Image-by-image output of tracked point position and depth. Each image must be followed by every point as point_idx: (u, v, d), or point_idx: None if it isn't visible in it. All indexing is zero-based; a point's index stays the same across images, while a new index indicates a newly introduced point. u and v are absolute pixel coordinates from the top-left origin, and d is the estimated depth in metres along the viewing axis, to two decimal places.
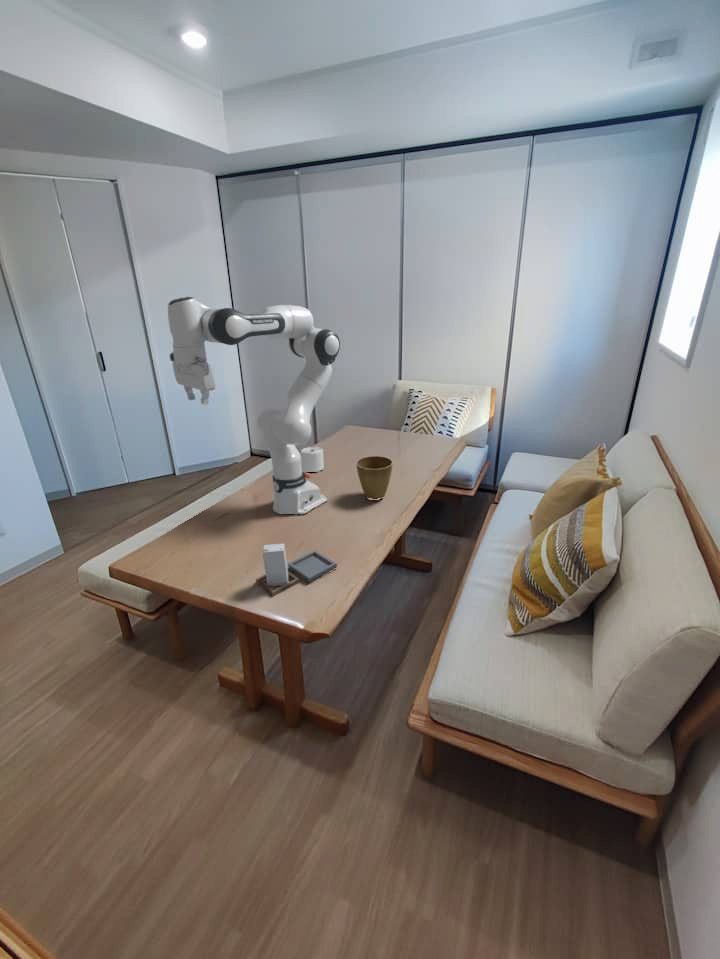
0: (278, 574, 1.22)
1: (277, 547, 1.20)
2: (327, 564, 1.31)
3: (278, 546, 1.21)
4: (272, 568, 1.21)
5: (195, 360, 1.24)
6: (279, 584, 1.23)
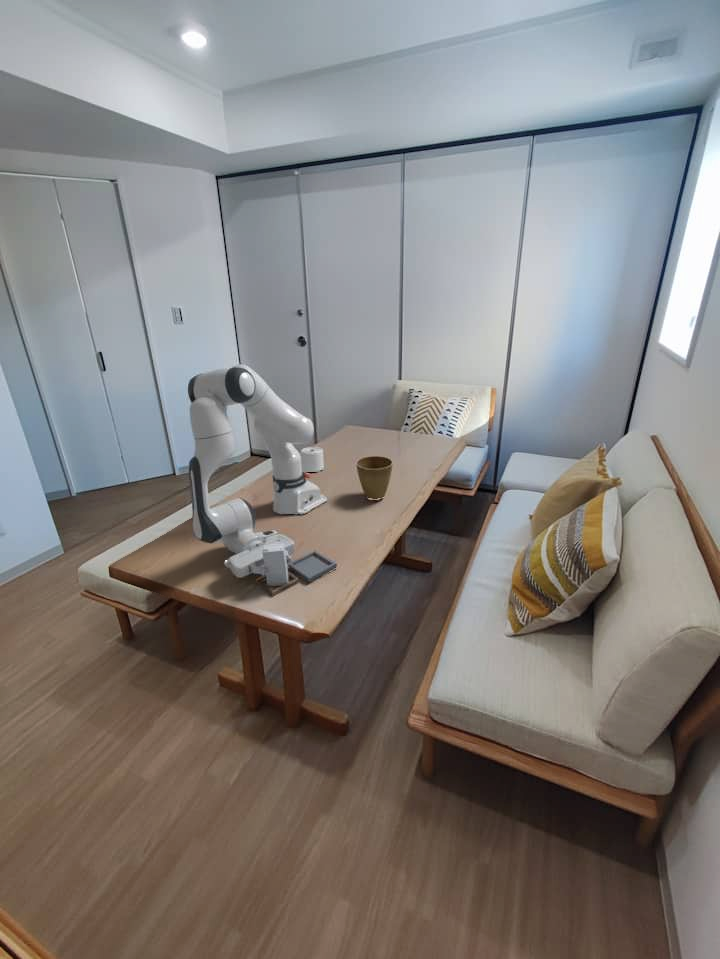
0: (278, 574, 1.22)
1: (277, 547, 1.20)
2: (327, 564, 1.31)
3: (278, 546, 1.21)
4: (272, 568, 1.21)
5: None
6: (279, 584, 1.23)
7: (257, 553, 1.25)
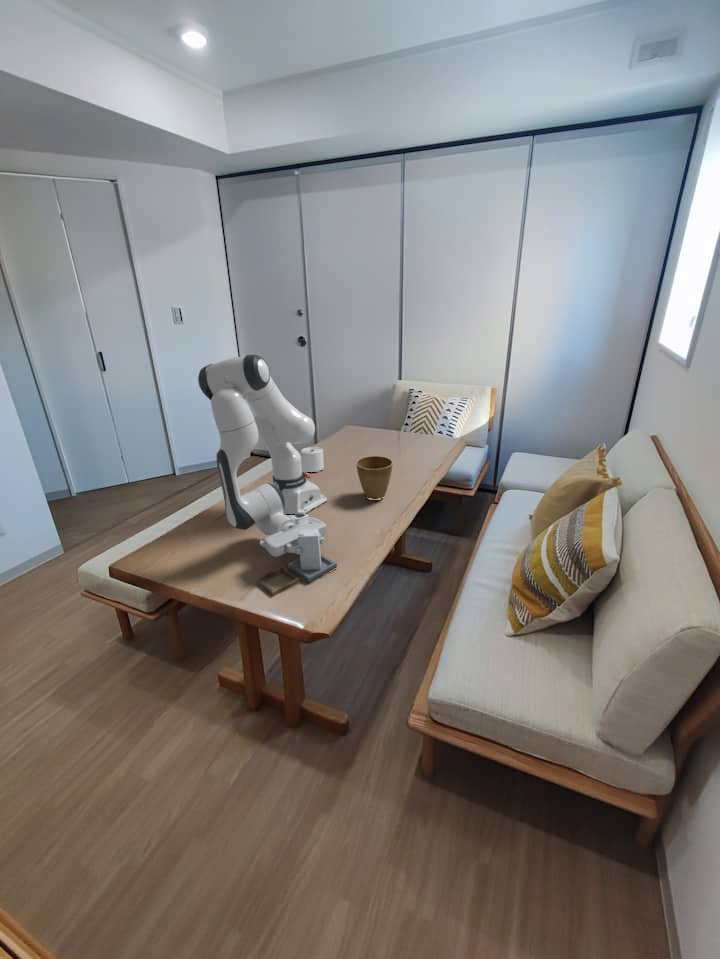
0: (311, 559, 1.27)
1: (312, 532, 1.25)
2: (327, 564, 1.31)
3: (313, 531, 1.26)
4: (307, 553, 1.26)
5: None
6: (312, 569, 1.28)
7: (291, 534, 1.30)
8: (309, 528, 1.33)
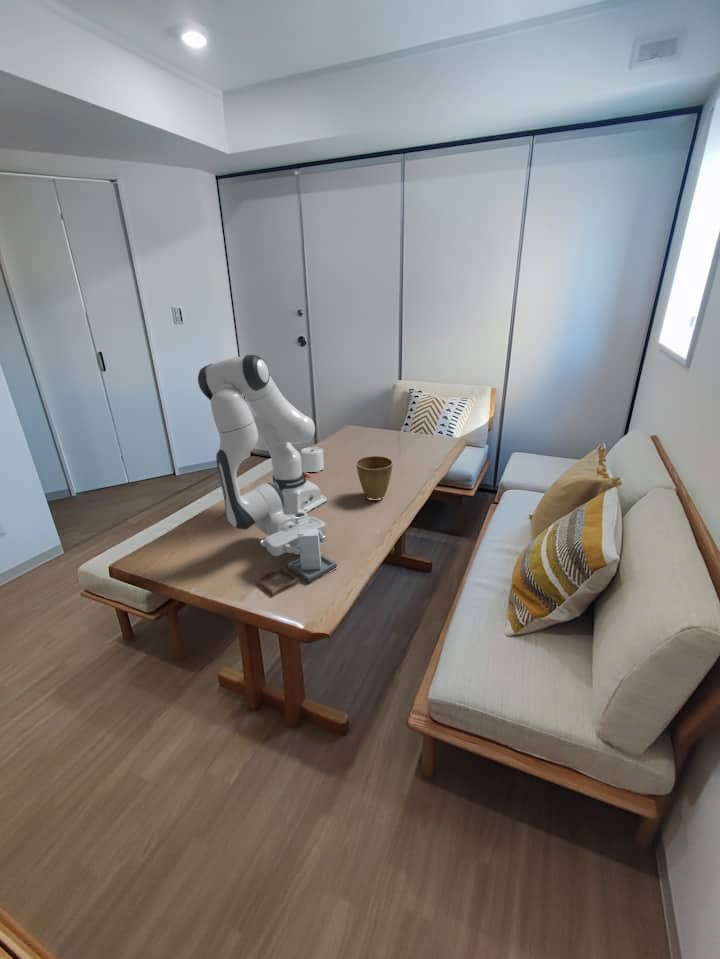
0: (311, 559, 1.27)
1: (311, 532, 1.26)
2: (327, 564, 1.31)
3: (313, 531, 1.26)
4: (306, 552, 1.26)
5: None
6: (312, 568, 1.28)
7: (291, 533, 1.31)
8: (309, 527, 1.34)
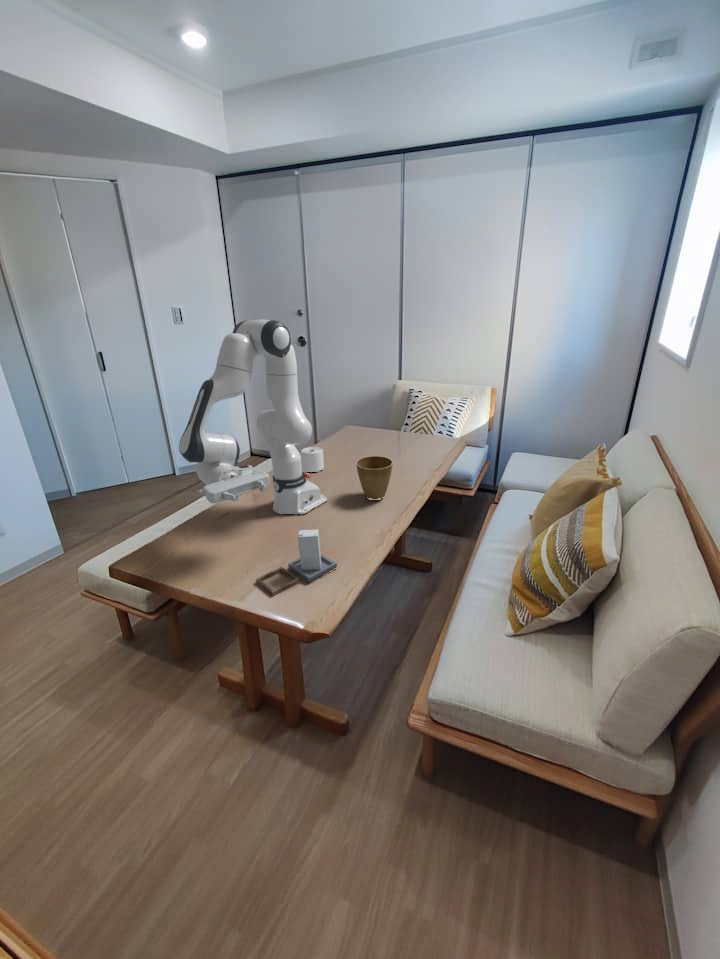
0: (311, 559, 1.27)
1: (311, 532, 1.25)
2: (327, 564, 1.31)
3: (313, 532, 1.26)
4: (306, 553, 1.26)
5: None
6: (312, 569, 1.28)
7: (231, 482, 1.29)
8: (251, 478, 1.32)
